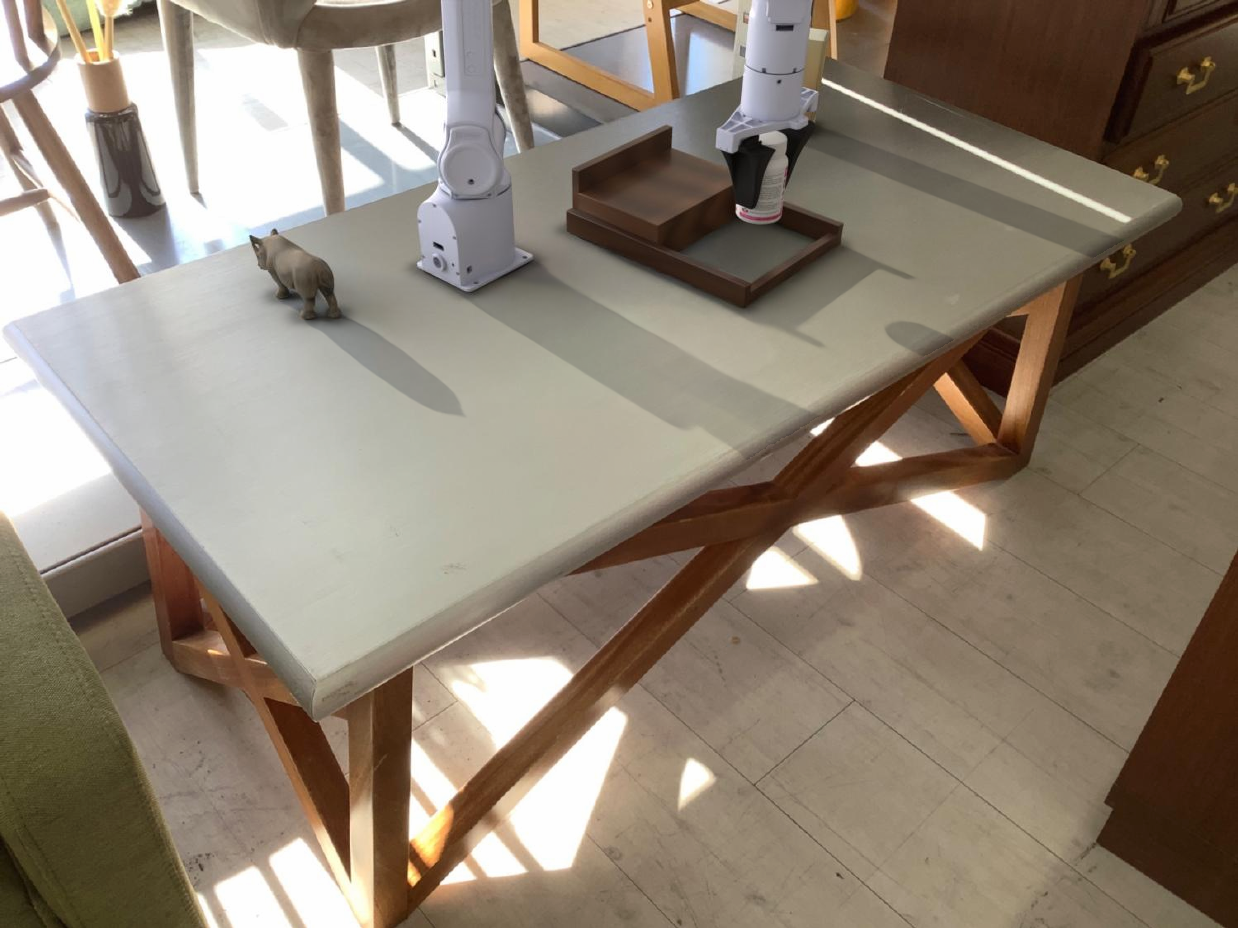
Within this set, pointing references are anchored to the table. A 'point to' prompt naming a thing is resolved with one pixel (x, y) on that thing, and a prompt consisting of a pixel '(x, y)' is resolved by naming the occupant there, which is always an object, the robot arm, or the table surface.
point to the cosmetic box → (815, 63)
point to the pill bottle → (769, 183)
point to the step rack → (677, 214)
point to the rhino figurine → (296, 272)
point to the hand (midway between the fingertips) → (760, 197)
